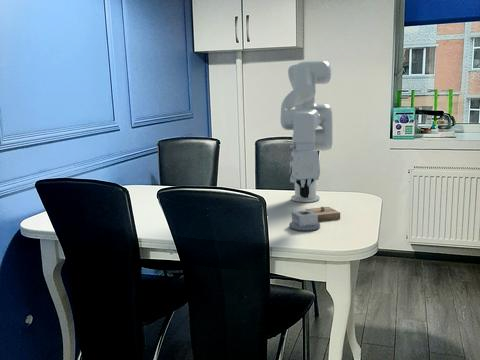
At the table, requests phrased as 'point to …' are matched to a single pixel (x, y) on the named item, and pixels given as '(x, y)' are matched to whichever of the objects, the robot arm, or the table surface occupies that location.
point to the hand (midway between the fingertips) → (304, 196)
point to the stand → (326, 213)
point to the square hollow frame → (304, 218)
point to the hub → (304, 229)
